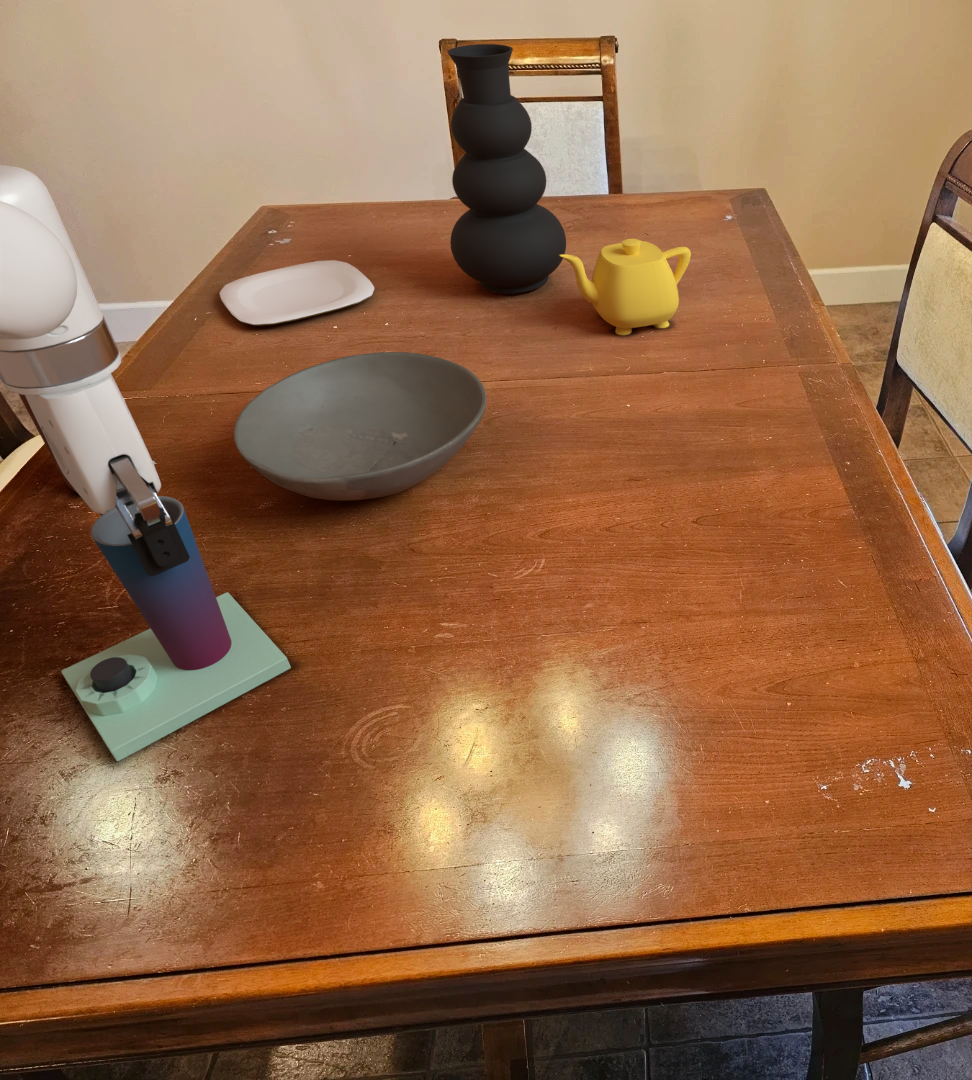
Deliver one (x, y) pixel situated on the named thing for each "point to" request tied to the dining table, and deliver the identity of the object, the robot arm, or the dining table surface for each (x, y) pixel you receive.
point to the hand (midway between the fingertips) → (147, 541)
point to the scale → (173, 683)
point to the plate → (295, 292)
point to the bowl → (361, 424)
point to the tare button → (111, 674)
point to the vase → (499, 181)
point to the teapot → (632, 284)
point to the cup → (169, 591)
